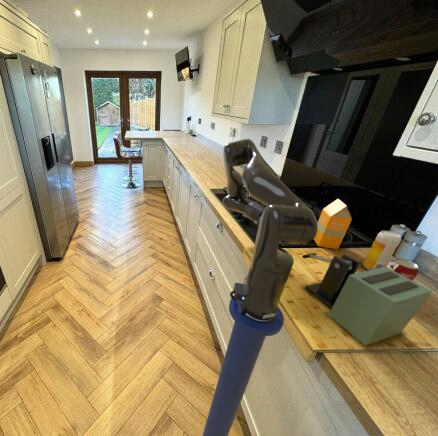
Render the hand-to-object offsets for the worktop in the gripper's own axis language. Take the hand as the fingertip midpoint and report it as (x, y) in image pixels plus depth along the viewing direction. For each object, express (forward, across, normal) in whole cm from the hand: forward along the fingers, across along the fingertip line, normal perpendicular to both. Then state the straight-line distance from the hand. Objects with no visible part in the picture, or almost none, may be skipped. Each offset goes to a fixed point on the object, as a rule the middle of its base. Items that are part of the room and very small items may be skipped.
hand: (287, 230), depth 87 cm
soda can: (+24, +22, +13) cm, 36 cm away
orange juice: (-5, +31, +13) cm, 34 cm away
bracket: (+21, 0, +13) cm, 25 cm away
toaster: (+31, 0, +13) cm, 34 cm away
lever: (+17, 0, +3) cm, 17 cm away
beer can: (+14, +32, +13) cm, 37 cm away
